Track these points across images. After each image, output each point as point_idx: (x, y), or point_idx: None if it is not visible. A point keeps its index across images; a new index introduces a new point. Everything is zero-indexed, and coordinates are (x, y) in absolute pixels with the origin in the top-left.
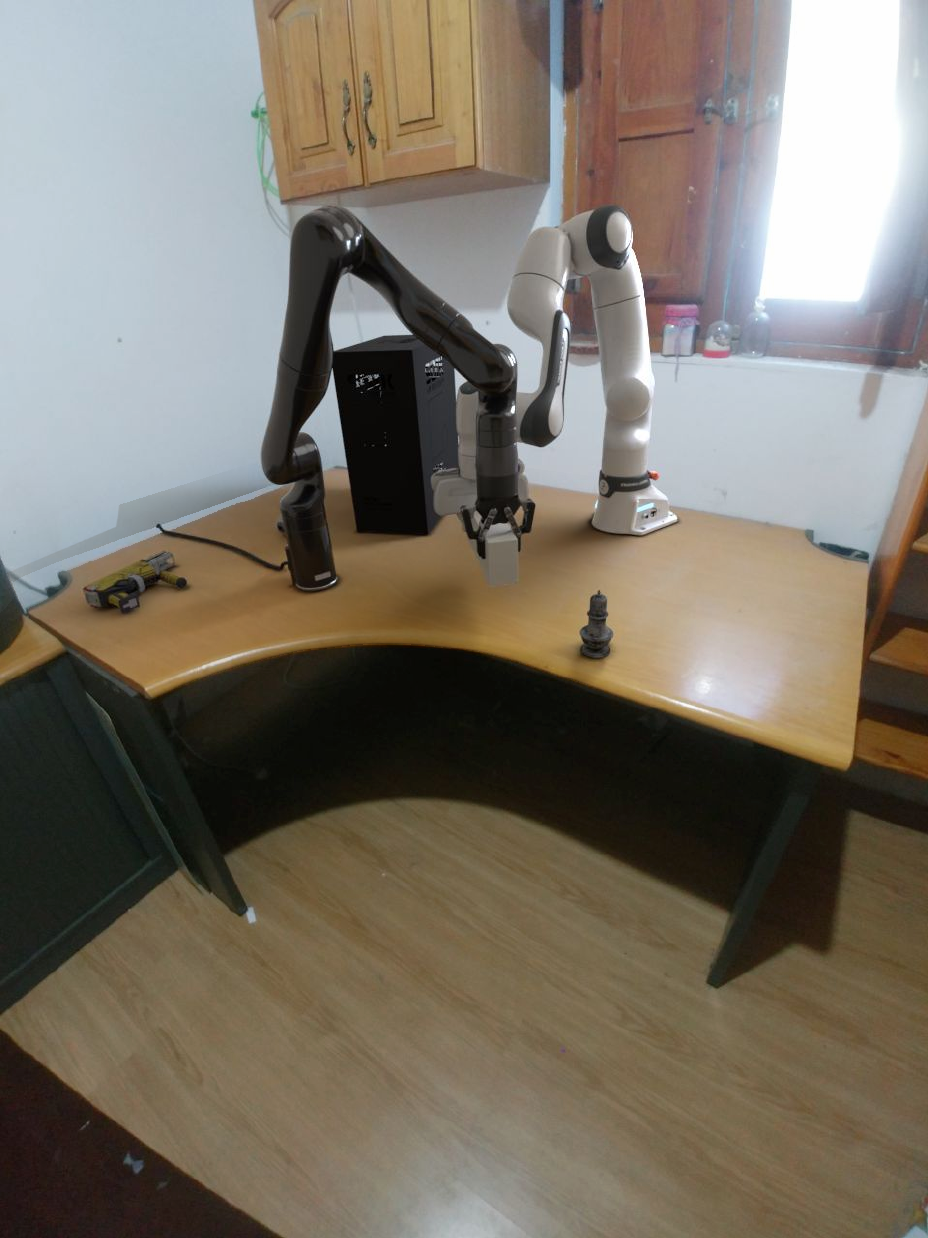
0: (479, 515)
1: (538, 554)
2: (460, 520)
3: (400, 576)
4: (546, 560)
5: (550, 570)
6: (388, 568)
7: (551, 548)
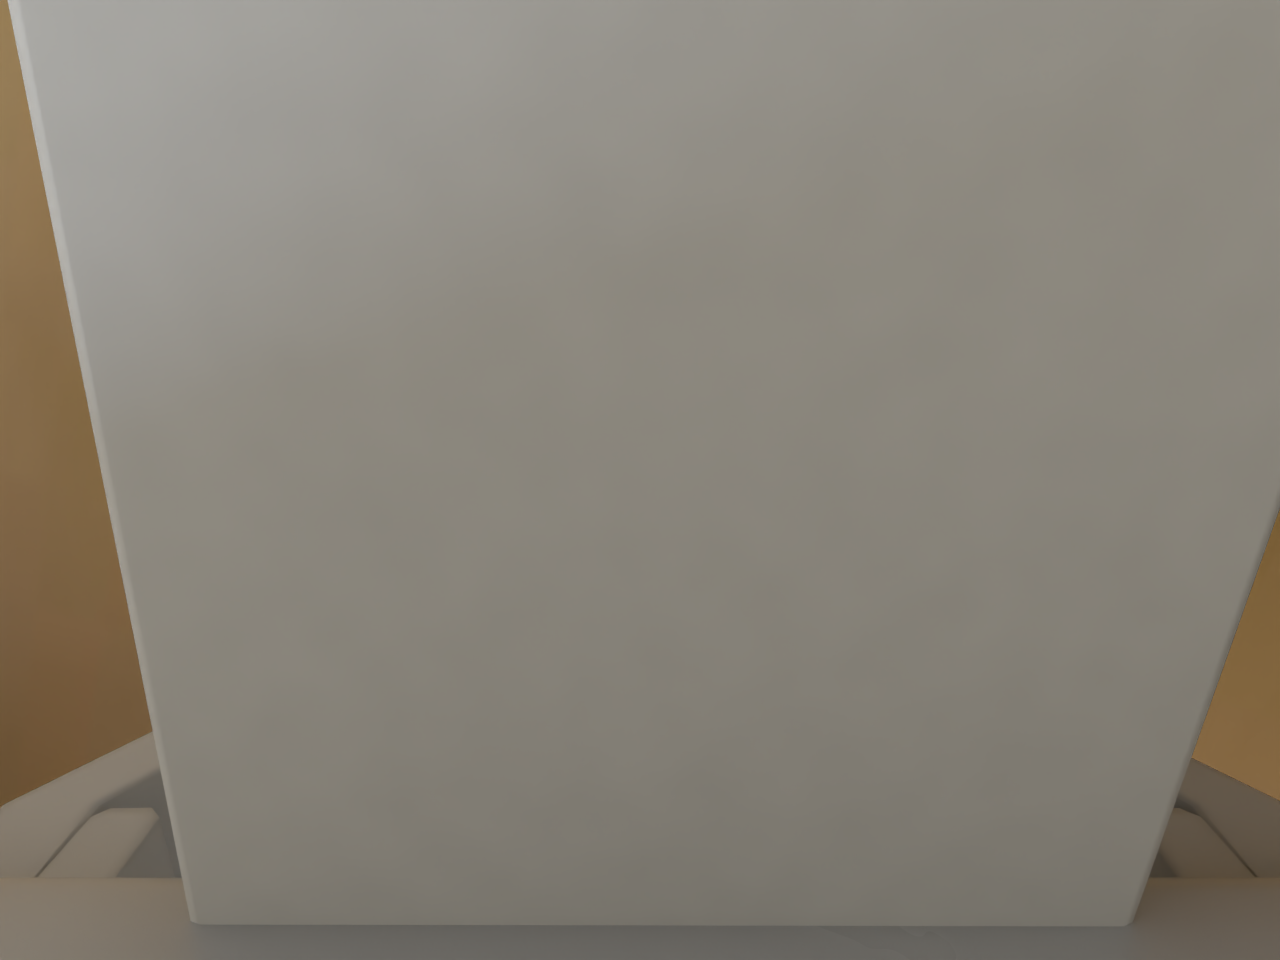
0: (1098, 224)
1: (123, 688)
2: (1193, 763)
3: (1250, 651)
4: (69, 573)
5: (54, 388)
6: (1274, 792)
7: (8, 751)
